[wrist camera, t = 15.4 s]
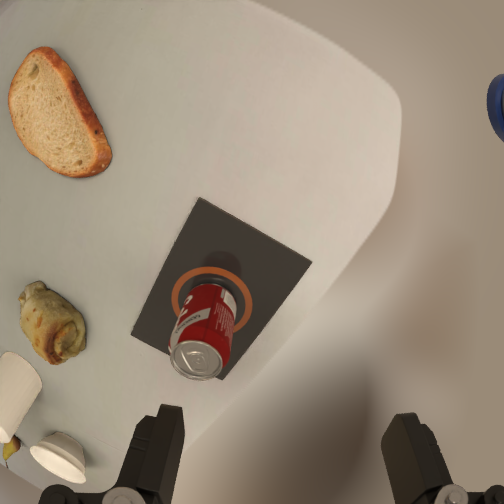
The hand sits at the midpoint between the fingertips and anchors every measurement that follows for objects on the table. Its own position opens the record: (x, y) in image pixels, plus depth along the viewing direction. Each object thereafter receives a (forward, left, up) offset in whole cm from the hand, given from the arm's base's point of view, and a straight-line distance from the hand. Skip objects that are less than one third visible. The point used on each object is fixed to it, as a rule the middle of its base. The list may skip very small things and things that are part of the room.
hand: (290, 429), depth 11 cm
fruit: (+82, +61, -30) cm, 107 cm away
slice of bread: (+26, -17, -30) cm, 43 cm away
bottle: (+55, +29, -30) cm, 69 cm away
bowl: (+55, +54, -30) cm, 83 cm away
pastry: (+36, +14, -30) cm, 49 cm away
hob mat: (+9, +12, -30) cm, 34 cm away
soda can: (+9, +12, -30) cm, 33 cm away
